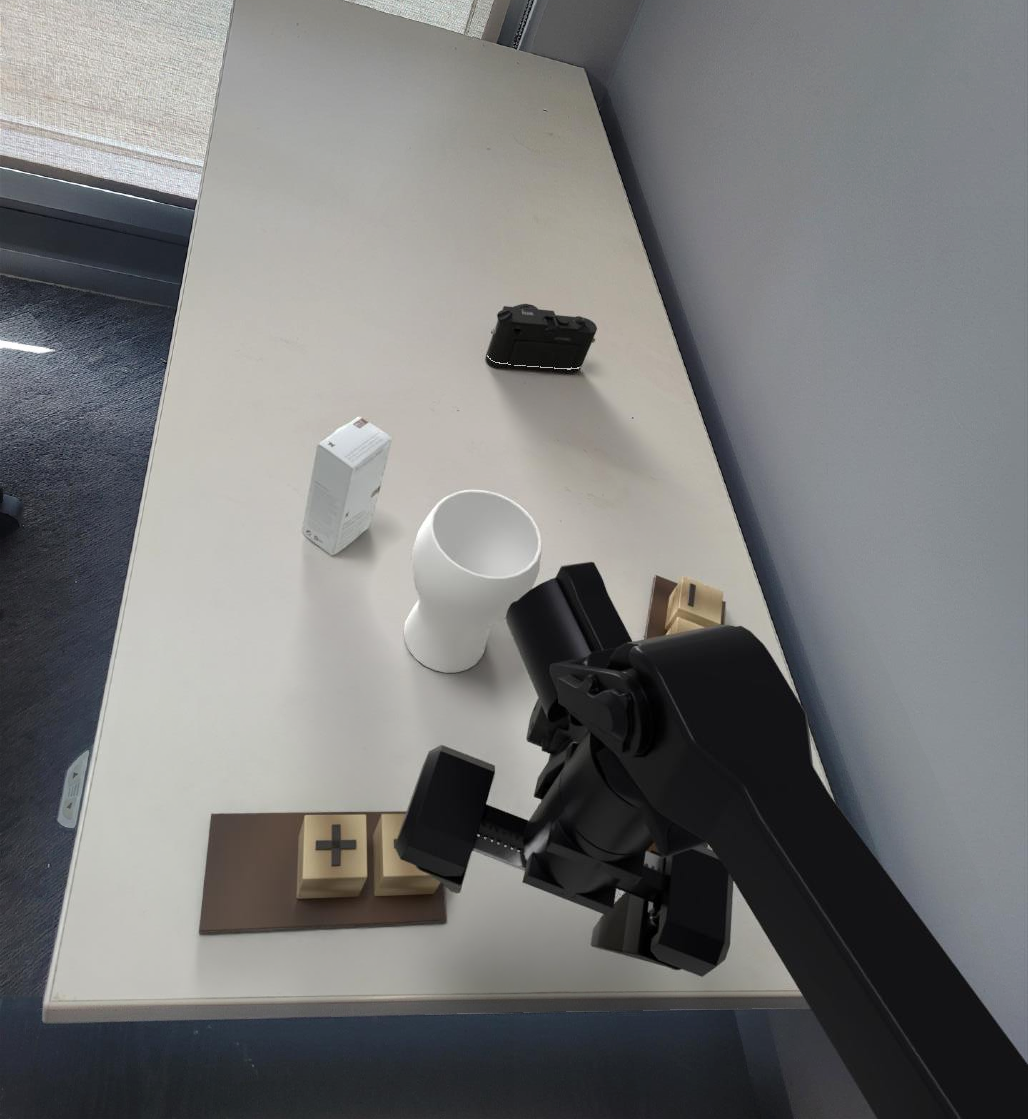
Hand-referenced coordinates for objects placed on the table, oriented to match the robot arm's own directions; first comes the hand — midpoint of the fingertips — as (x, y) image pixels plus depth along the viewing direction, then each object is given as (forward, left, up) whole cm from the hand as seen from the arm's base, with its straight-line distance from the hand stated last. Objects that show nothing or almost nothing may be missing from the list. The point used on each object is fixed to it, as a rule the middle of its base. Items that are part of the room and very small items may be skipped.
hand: (525, 911), depth 56 cm
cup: (+28, 0, -12) cm, 31 cm away
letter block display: (+21, -21, -12) cm, 32 cm away
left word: (+7, +11, -12) cm, 18 cm away
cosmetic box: (+40, +10, -12) cm, 43 cm away
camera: (+72, -15, -12) cm, 75 cm away
